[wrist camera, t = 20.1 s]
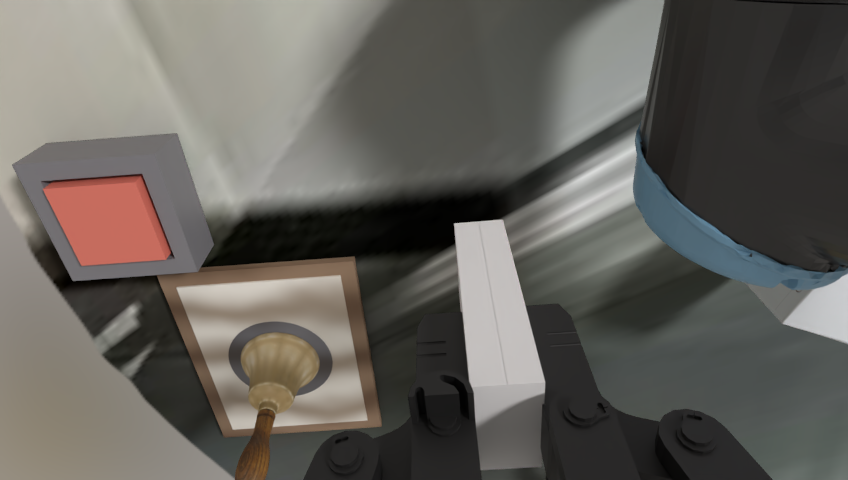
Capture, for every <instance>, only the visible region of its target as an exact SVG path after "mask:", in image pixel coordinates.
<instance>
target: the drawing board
mask: <svg viewBox="0 0 848 480" xmlns="http://www.w3.org/2000/svg"><path fill="white" fill-rule="evenodd" d="M157 278H158V280H159V282H160V285H161V287H162V290H163V292H164V294H165V297H166V299H167V302H168V304H169V306H170V309H171V311H172V314H173V316H174V318H175V321H176V323H177V326H178V328H179V330H180V333H181V335H182V338H183V340H184V342H185V345H186V347H187V350H188V352H189V354H190V357H191V359H192V362H193V364H194V366H195V369H196V371H197V374H198V376H199V378H200V381H201V383H202V385H203V388H204V390H205V393H206V395H207V397H208V400H209V402H210V405H211V407H212V409H213V412H214V414H215V417H216V419H217V421H218V424H219V426H220V429H221V431H222V433H223V436H224V437H237V436H252V435H253V432H254V428H255V423H256V420H257V414H258V410H256V409H255V408H253V407H252V405H251V404H250V402H249V400H248V392H249V386H250V378H249V377H248V376H247V375H246V373H245V372H244V370H243V367H242V364H241V353H242V350H243V348H244V346H245V345H246V344H247V343H248V342H249V341H250V340H252V339H253V338H255V337H256V336H259V335H261V334H265V333H272V332H279V333H287V334H292V335H295V336H297V337H299V338H301V339H303V340H305V341H306V342H308V343H309V344H310V345H311V346H312V347H313V348H314V349H315V351H316V352H317V354H318V357H319V361H320V366H319V370H318V373H317V374H316V376H315V377H314V378H313V379H312V380H311V381H310V382H309V383H308V384H307V385H305V386H303V387H301V388H299V390H298V392H297V394H296V396H295V399H294V402H293V404H292V405H291V407H290V408H289V409H288V410H286V411H285V412H282V413H279V414H276V415H275V416H276V417H275V420H274V423H273V427H272V430H271V433H270V434H281V433H295V432H310V431H324V430H339V429H353V428H368V427H382V419H381V413H380V407H379V401H378V395H377V389H376V383H375V377H374V371H373V365H372V359H371V353H370V347H369V341H368V335H367V329H366V323H365V317H364V311H363V305H362V299H361V293H360V287H359V281H358V275H357V269H356V263H355V257H342V258H328V259H314V260H300V261H286V262H273V263H259V264H245V265H231V266H217V267H204V268H200V269H199V271H198V272H191V273H177V274H164V275H157Z"/></svg>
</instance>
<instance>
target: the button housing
mask: <svg viewBox="0 0 848 480" xmlns="http://www.w3.org/2000/svg"><path fill="white" fill-rule="evenodd" d="M12 166H13V168H14V170H15V172H16V174H17V176H18V178H19V179H20V181H21V183H22V185H23V187H24V189H25V191H26V193H27V195H28V197H29V198H30V200H31V202H32V204H33V206H34V208H35V210H36V212H37V214H38V216H39V217H40V219H41V221H42V223H43V225H44V227H45V229H46V231H47V233H48V235H49V237H50V238H51V240H52V242H53V244H54V246H55V248H56V250H57V252H58V254H59V256H60V257H61V259H62V261H63V263H64V265H65V267H66V269H67V271H68V273H69V275H70V276H71V278H72V280H73V281H81V280H94V279H108V278H122V277H136V276H150V275H164V274H177V273H191V272H198V271H199V269H200V267H201V266H202V264H203V262H204V261H205V259H206V257H207V255H208V254H209V252H210V250H211V249H212V247H213V245H214V243H213V240H212V237H211V234H210V231H209V228H208V225H207V222H206V219H205V216H204V213H203V210H202V207H201V204H200V201H199V198H198V195H197V192H196V189H195V186H194V183H193V180H192V177H191V174H190V171H189V168H188V165H187V162H186V159H185V156H184V153H183V150H182V147H181V144H180V141H179V138H178V135H177V133H176V134H163V135H149V136H136V137H123V138H110V139H96V140H83V141H70V142H57V143H46V144H45V145H43V146H41V147H40V148H38V149H37V150H35V151H33V152H32V153H30V154H29V155H27V156H25V157H24V158H22V159H21V160H19V161H17V162H16V163H14V164H12ZM131 174H143V177H144V180H145V182H146V185H147V187H148V190H149V193H150V195H151V198H152V200H153V203H154V206H155V208H156V211H157V213H158V216H159V218H160V221H161V224H162V226H163V229H164V231H165V234H166V237H167V239H168V242H169V244H170V247H171V250H172V252H171V253H170V255H169V256H168V258H167V259H166V260H155V261H142V262H128V263H114V264H100V265H87V266H81V264H80V262H79V260H78V258H77V256H76V254H75V252H74V250H73V248H72V246H71V244H70V242H69V240H68V238H67V236H66V234H65V232H64V230H63V228H62V226H61V224H60V222H59V220H58V218H57V216H56V215H55V213H54V211H53V209H52V207H51V205H50V203H49V201H48V199H47V197H46V195H45V193H44V191H43V189H44V188H45V187H46V186H48V185H49V184H50V183H52V182H53V181H54V180H64V179H77V178H91V177H104V176H118V175H131Z"/></svg>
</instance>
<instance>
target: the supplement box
mask: <svg viewBox="0 0 848 480" xmlns="http://www.w3.org/2000/svg"><path fill="white" fill-rule="evenodd" d="M746 284H747V286H748V287H749V288H750V289H751V290H752V291H753V292H754V293H755V294H756V295H757V297H758V298H759V299H760V300H761V301H762V302H763V303H764V304H765V305H766V306H767V307H768V309H769V310H770V311H771V312H772V313H773V314H774V315H775V316H776V317H777V318H778V320H779V321H780V322H781V323H782V324H785V325H788V326H792V327H795V328H798V329H802V330H805V331H809V332H812V333H815V334H819V335H822V336H825V337H828V338H831V339H834V340H837V341H840V342H843V343H846V344H848V274H846V275H844V276H842V277H841V278H840V279H839V280H837V281H835V282H833V283H832V284H829V285H827V286H824V287H820V288H816V289H809V290H791V289H789V288H788V287H786V286H784V285H783V284H781V283H779V284H778V285H777V286H776V287H774V288H767V287H761V286H756V285H752V284H748V283H746Z"/></svg>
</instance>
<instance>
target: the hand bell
mask: <svg viewBox="0 0 848 480" xmlns="http://www.w3.org/2000/svg"><path fill="white" fill-rule="evenodd" d="M241 364H242V367H243V370H244V372H245V373H246V375H247V376H248V377H249V378H250V386H249V392H248V400H249V402H250V404H251V405H252V407H253V408H255V409H256V410H258V414H257V420H256V423H255V428H254V432H253V435H252V438H251V440H250V441H249V443H248V444H247V446H246V447H245V449H244V451H243V453H242V455H241V457H240V459H239V462H238V466H237V469H236V474H235V480H265V478H266V475H267V471H268V466H269V459H270V450H269V437H270V433H271V430H272V427H273V423H274V420H275V417H276V416H275V415H276V414H279V413H282V412H285V411H286V410H288V409H289V408H290V407H291V405H292V404H293V402H294V399H295V396H296V394H297V392H298V390H299V388H301V387H303V386H305V385H307V384H308V383H309V382H310V381H311V380H312V379H313V378H314V377H315V376H316V374H317V373H318V370H319V366H320V361H319V357H318V354H317V352H316V351H315V349H314V348H313V347H312V346H311V345H310V344H309V343H308V342H306V341H305V340H303V339H301V338H299V337H297V336H295V335H292V334H287V333H279V332H272V333H265V334H261V335H259V336H256V337H255V338H253V339H252V340H250V341H249V342H248V343H247V344H246V345H245V346H244V348H243V350H242V353H241Z"/></svg>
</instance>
